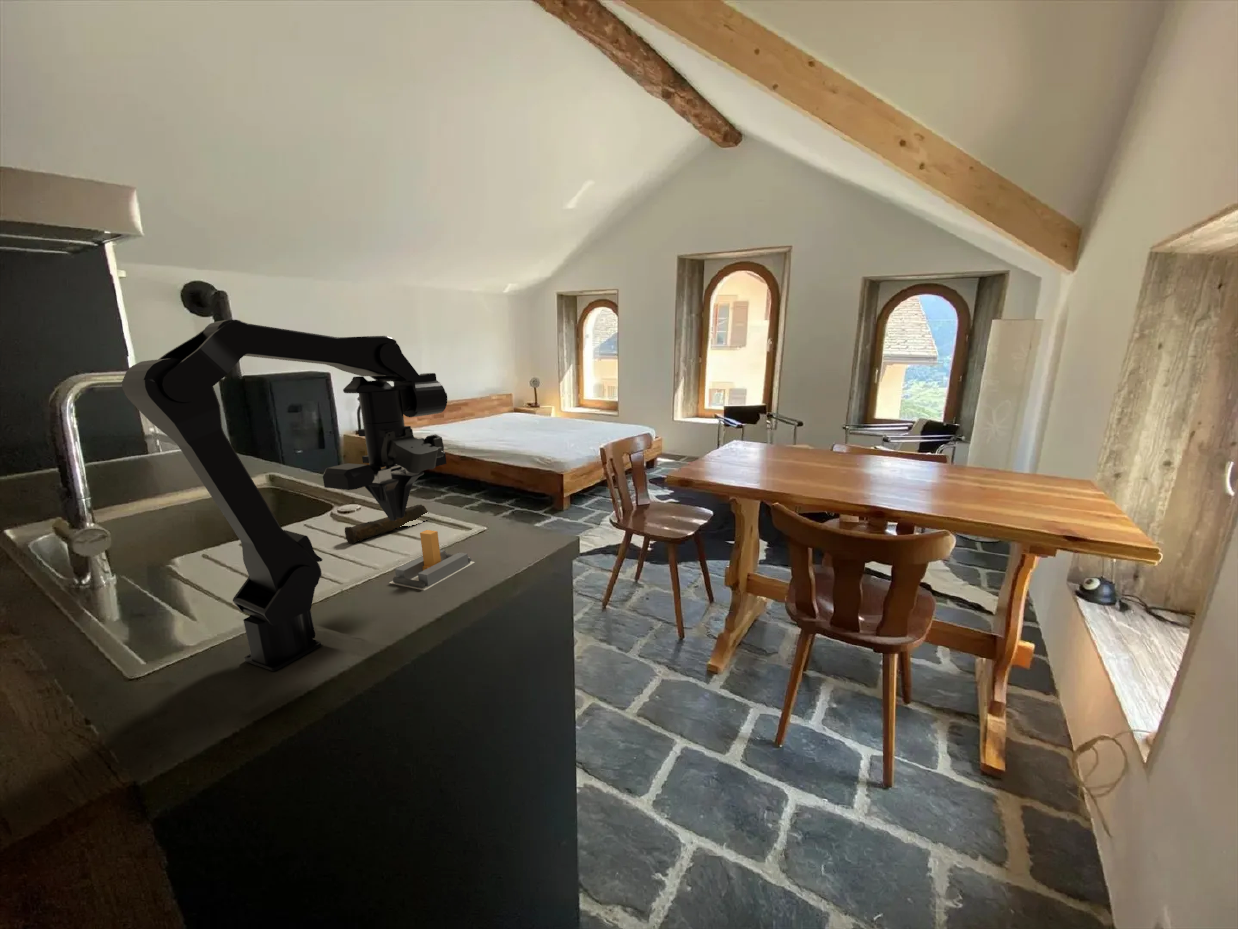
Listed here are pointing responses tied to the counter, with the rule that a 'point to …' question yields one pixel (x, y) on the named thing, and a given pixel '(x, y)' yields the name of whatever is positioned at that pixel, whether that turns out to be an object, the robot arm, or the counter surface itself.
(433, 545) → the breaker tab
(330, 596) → the counter surface
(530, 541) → the counter surface
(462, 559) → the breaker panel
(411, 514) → the dark brown rod
